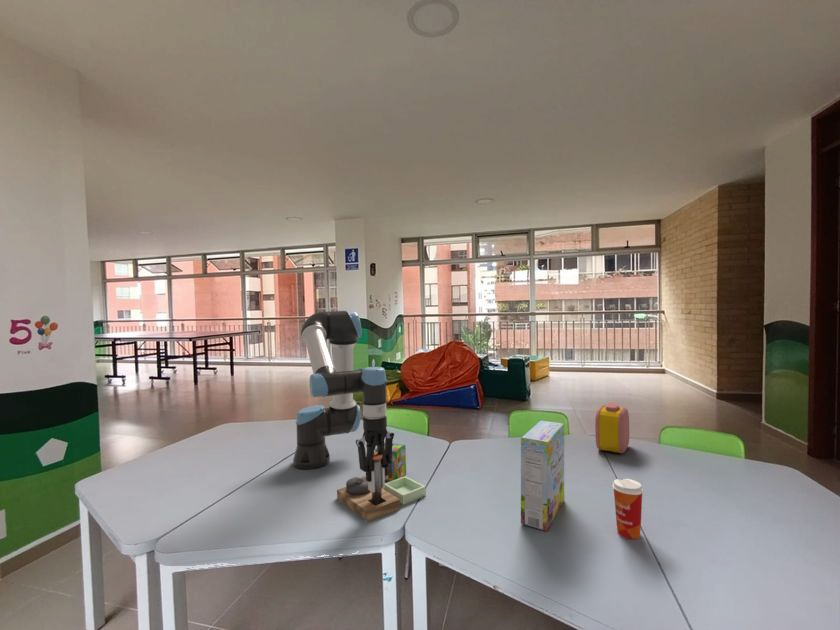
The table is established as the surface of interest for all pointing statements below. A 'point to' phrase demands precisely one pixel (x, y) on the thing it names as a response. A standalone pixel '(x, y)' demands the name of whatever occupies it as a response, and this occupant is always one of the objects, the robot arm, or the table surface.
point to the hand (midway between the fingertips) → (376, 488)
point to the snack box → (542, 474)
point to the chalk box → (396, 462)
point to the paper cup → (628, 507)
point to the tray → (405, 489)
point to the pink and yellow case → (612, 428)
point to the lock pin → (377, 478)
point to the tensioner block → (366, 499)
